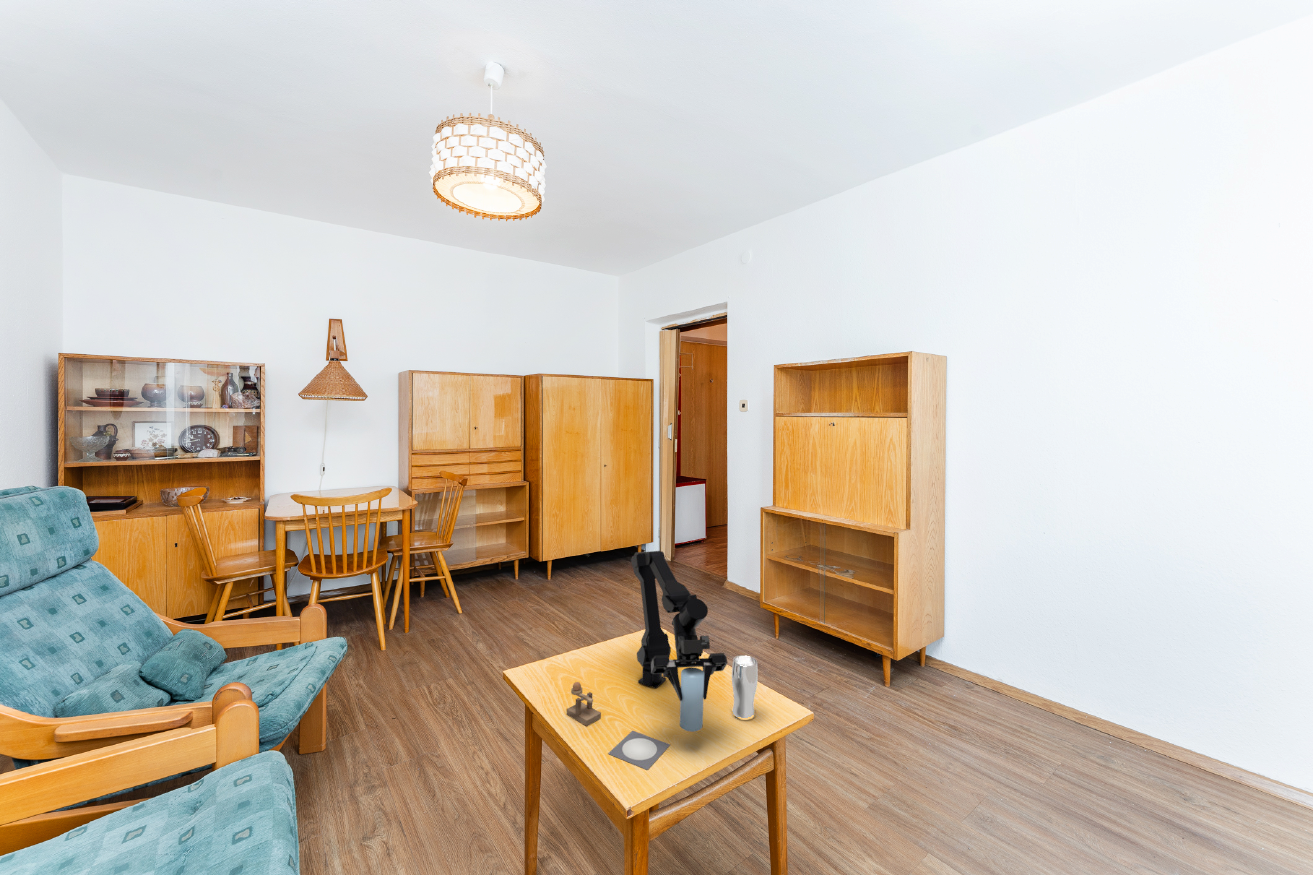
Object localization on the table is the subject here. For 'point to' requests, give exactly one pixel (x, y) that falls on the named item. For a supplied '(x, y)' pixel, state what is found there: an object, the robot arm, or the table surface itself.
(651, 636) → the robot arm
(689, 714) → the pale blue capsule
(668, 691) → the table surface
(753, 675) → the beer glass
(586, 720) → the catapult
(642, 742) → the pad
